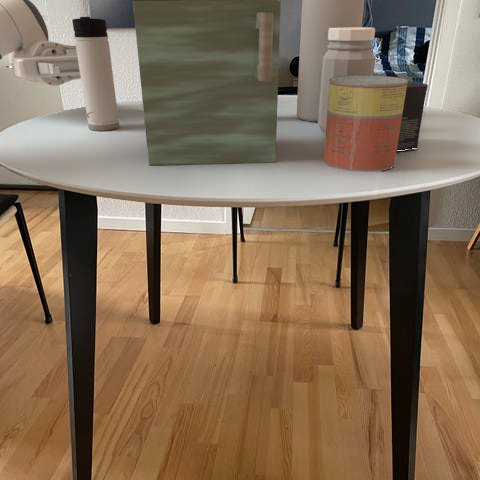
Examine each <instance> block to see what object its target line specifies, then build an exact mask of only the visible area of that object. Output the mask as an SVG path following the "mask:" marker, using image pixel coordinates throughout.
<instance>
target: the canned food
mask: <svg viewBox="0 0 480 480" xmlns="http://www.w3.org/2000/svg"><path fill="white" fill-rule="evenodd" d="M408 81H409V80H408V79H407V78H402V77H399V76H398V77H397V76H387V75H373V76H340V77H333V78H330V79H329V82H330V85H329V98H328V110H327V122H326V133H325V135H324V136H325V137H324V147H323V159H322V163H323V164H324V165H325V166H327V167H330V168H332V169H335V170H340V171H345V172H355V173H356V172H357V173H358V172H359V173H372V172H373V173H375V172H384V171H383V170H385V171H388V170H387V169H389V168H391V167H393V166H394V165H395V166H396V158H397V153H398V152H397V146H398V139H399V133H400V126H401V120H402V113H403V107H404V101H405V94H406V88H407V83H408ZM395 166H394V167H395ZM394 167H393V168H394ZM389 170H390V169H389Z"/></svg>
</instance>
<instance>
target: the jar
mask: <svg viewBox="0 0 480 480" xmlns="http://www.w3.org/2000/svg"><path fill="white" fill-rule="evenodd" d="M375 33H376V28H375V27H363V26H362V27H347V28H329V31H328V40H330V45H328V46H327V48H328V49H329V50H328V51H327V52H326V54H325V55H324V56H323V62H322V76H321V90H320V104H319V118H318V122H317V125H318V127H319V129H320V130H321V132H322V133H325V134H326V122H327V110H328V98H329V85H330V82H329V79H330V78H333V77H340V76H375V75H374V74H375V67H376V60H377V59H376V56H375V54H374V52H373V51H372V49H373V48H374V45H373V44H372V41H374V40H375V36H376V35H375Z"/></svg>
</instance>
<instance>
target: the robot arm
mask: <svg viewBox="0 0 480 480" xmlns="http://www.w3.org/2000/svg"><path fill="white" fill-rule="evenodd" d="M49 40H50V39H49V30H48V27H47V25H46V22H45V20H44V17H43V15H42V14H41V12H40V11H39V9H38V7H37V6H36V5H35V4H34V3H33V2H32V1H31V0H0V61H1V60H2V59H3V58H4V57H6V56H7V62H8V64H6V65H5V68H6V70H12V71H13V72H14V76H16V77H18V78H20V79H25V80H27V81H28V82H33V83H40V84H43V85H49V86H51V87H52V86H53V87H58V86H61V85H63V84H65V83H69V82H71V81H73V80H79V79H80V80H81V76H80V69H79V63H78V56H77V50H76V45H67V44H63V43H59V42H55V41H49Z"/></svg>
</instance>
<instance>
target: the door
mask: <svg viewBox="0 0 480 480" xmlns="http://www.w3.org/2000/svg"><path fill="white" fill-rule="evenodd" d="M281 3H282V1H281V0H255V1H133V0H132V8H133V17H134V18H133V19H134V28H135V38H136V48H137V49H136V50H137V57H138V68H139V69H138V70H139V78H140V79H139V80H140V88H141V90H140V91H141V98H142V99H141V100H142V110H143V117H144V128H145V140H146V149H147V159H148V166H179V165H180V166H181V165H214V164H215V165H216V164H217V165H218V164H219V165H220V164H221V165H222V164H257V163H261V164H263V163H276V162H277V161H276V160H277V159H276V158H277V134H278V133H277V130H278V101H279V99H278V96H279V68H280V67H279V65H280V62H279V61H280V35H281V33H280V31H281V5H282V4H281Z"/></svg>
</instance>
